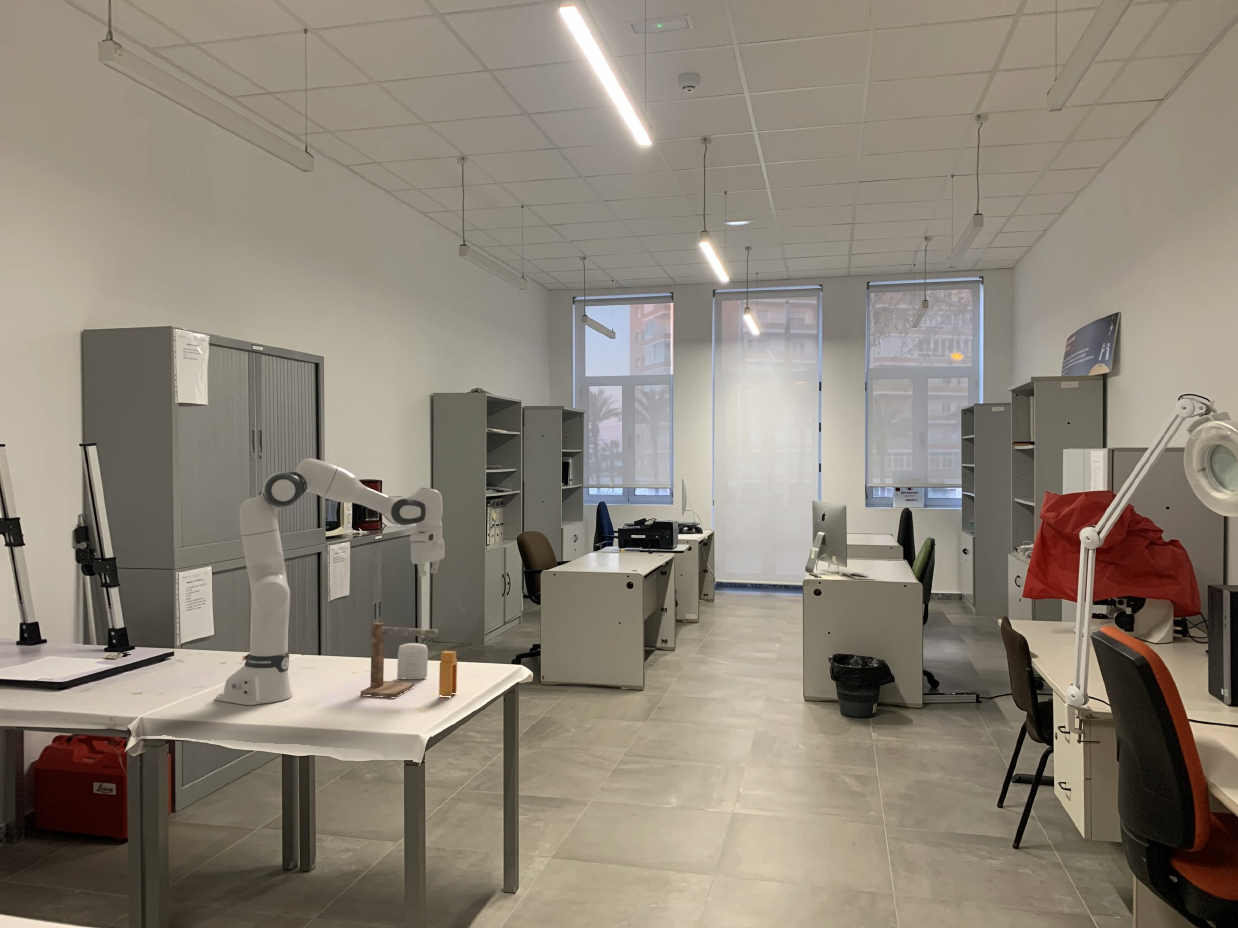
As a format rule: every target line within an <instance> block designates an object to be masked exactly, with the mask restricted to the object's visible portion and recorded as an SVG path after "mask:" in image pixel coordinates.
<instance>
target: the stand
mask: <svg viewBox="0 0 1238 928" xmlns="http://www.w3.org/2000/svg"><path fill="white" fill-rule="evenodd" d="M438 634H439V632H438V629H436V628H435V629H432V628H415V627H413V628H411V627H397V626H396V627H395V626H385V622H377V621H376V622H374V623H372V624H371V641H370V642H371V644H370V647H371V649H370V686H369V687H366V688H365V689H362V690H360V695H371V696H383V697H397V696H398V695H400V694H401V693H404V692H405V691H407V690H409V689H410V688H412V687H413V686H414V687H415V682H405V681H404V682H403V681H392V680H391V681H389V680H384V670H385V669H384V668H385V667H384V665H385V664H384V663H385V662H384V661H385V635H389V636H390V635H392V636H393V635H394V636H396V635H397V636H409V637H410V636H411V637H427V638H429V637H430V638H437V637H438ZM409 691H410V690H409ZM407 692H408V691H407ZM404 694H405V693H404ZM400 696H401V695H400ZM397 698H398V697H397Z"/></svg>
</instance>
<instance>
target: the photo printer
mask: <svg viewBox="0 0 1238 928" xmlns="http://www.w3.org/2000/svg"><path fill="white" fill-rule="evenodd" d="M428 652H429V651H428V646H427V645H425V644H423V643H417V642H411V643H410V642H407V643H403V644H401V645H399V648H398V650H397V672H396V673H397V675H396V678H398V679H397V680H404V679H403V678H425V677H427V678H428V660H429V659H428V657H429V656H428V654H429V653H428Z"/></svg>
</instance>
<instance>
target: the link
mask: <svg viewBox="0 0 1238 928" xmlns="http://www.w3.org/2000/svg"><path fill="white" fill-rule="evenodd" d="M438 675H439V679H438V683H439V685H438V687H439V688H438V691H439V692H438V696H439V695H442V696H451V695H452V693H456V692H457V690H458V689H457V684H458V683H457V682H458V679H457V678H458V659H457V650H456V651H454V650H453V651H452V650H444V651H441V652H440V662H439V674H438ZM452 696H453V695H452Z"/></svg>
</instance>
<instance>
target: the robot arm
mask: <svg viewBox="0 0 1238 928" xmlns="http://www.w3.org/2000/svg"><path fill="white" fill-rule="evenodd" d="M305 493H312V494H315V495H318V496H320V497H322V498H326V499H328V500H331V501H334V502H337V503H338V502H339V503H343V504H344V503H345V504H346V503H347V504H348V503H352V504H357V505H360V506H363V507H366V508H368V509H370V510H373V511H376V512H378V513H379V514H381V515H382V516H383V517H384V518H385V519H386V520H387V522H389V523H391V524H393V525H396V526H404V527H405V526H409V525H413V524H414V525H415V524H416V526H415V527H416V528H415V530H414V532H412V533H411V534H410V536H409V540H410V542H411V543H410V560H411V563H412V564H413V565H417V569H418V576H419V577H426V576H427V574H426V573H427V571H426V569H425V567H426V564H427V563H431V564H432V565H431V568H430V573H431V574H437V573H438V567H439V564H440V560H443V559H444V558H445V556H446V552H445V551H446V550H445V549H446V548H445V540H444V538H443V522H442V517H443V515H444V514H443V512H444V511H443V510H444V509H443V507H444V506H443V505H444V504H443V497H442V494H441V492H440V491H439V490H437V489H434V488H427V487H420V488H418V489H417V490H416V491H413V492H412V493H410V494H408V495H405V496H400V495H395V496H390V495H386V494H383V493H381V492H379V491H376V490H374V489H371V488H369V487H368V486H365V485H364V484H363V483H362V482H361V481H360V480H359V478H358V477H357V476H356V475H354V474H353V473H352V472H350V471H348V470H346V469H345V468H343V467H340V466H337V465H335V464H332V463H331V462H327V461H323V460H319V459H316V458H312V457H311V458H310V457H308V458H305V459H303V460H302V461H300V463H298V465H297V466H296V468H295V470H294V471H289V472H285V471H278V472H275V473H273V474H270V475H269V476H268V477H267V478H266V479H265V481H264V482H263V485H262V487H261V490H260V491H259V493H258V496H255V497H250V498H249V499H246V500H245V501H243V502H242V503H241V505H240V506H239V528H240V535H241V536H240V537H241V542H242V549H243V553H244V554H243V555H244V559H245V560H244V561H245V563H246V571H247V573H248V574H247V576H248V580H249V586H250V593H251V595H250V596H251V599H250V600H251V603H250V607H251V608H250V635H249V639H250V640H249V653H248V654H246V655H244V656H242V657H241V658H242V659H241V661H245V662H244V665H243V666H242V667H240V668H239V669H238V670H236V671H235V672H234V673H232V674H231V675H230V676H229V677H228V678H227V679H226V681H225V684H224V689H223V691H222V692H220V693H218V694H217V695H216V696H215V701H218V702H225V703H230V704H231V703H232V704H238V705H243V706H244V705H246V706H255V705H260V704H268V703H269V704H270V703H276V702H281V701H284V700H287V699H290V698H291V697H293V693H292V690H291V685H290V677H289V666H290V652H289V650H288V648H289V624H290V623H289V620H290V619H289V618H290V605H291V604H290V602H291V589H290V587H289V583H288V578H287V572H286V566H285V565H286V564H285V557H284V551H283V546H282V540H281V534H280V528H279V523H278V512H279V510H280V509H281V508H286V507H290V506H291V505H292V506H293V504H295V503H297V501H299V499H300V498H301V497H302V496H303V494H305Z"/></svg>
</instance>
